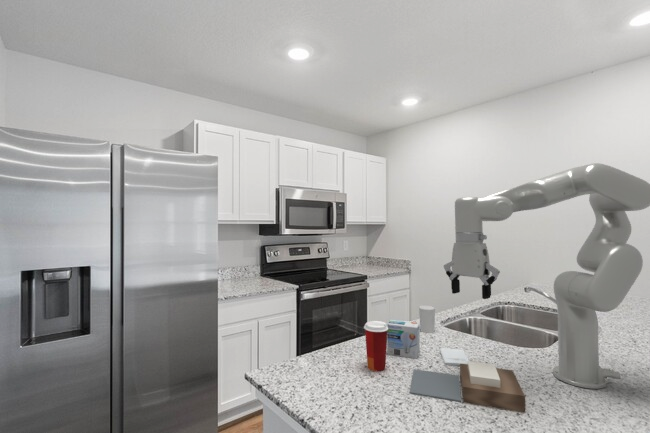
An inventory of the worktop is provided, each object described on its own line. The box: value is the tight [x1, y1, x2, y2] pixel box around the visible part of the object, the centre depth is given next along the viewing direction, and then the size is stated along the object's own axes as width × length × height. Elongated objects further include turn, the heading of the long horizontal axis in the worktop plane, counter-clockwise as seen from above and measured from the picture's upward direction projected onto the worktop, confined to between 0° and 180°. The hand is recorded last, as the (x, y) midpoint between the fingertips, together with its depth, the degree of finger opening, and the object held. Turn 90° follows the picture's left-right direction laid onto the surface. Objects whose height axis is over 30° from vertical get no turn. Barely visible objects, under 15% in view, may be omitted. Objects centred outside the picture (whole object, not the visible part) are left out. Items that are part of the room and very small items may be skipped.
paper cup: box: [363, 320, 388, 373], centre depth 106 cm, size 8×8×14 cm
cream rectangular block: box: [468, 360, 500, 388], centre depth 90 cm, size 7×10×2 cm
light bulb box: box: [386, 318, 421, 360], centre depth 118 cm, size 11×7×11 cm, turn 68°
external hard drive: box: [439, 347, 470, 367], centre depth 113 cm, size 2×8×12 cm
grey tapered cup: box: [418, 305, 436, 334], centre depth 142 cm, size 7×7×10 cm
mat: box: [409, 368, 462, 403], centre depth 94 cm, size 13×15×1 cm
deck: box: [459, 364, 526, 413], centre depth 90 cm, size 14×15×4 cm
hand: (470, 295), depth 99 cm, fingers open, 9 cm apart
